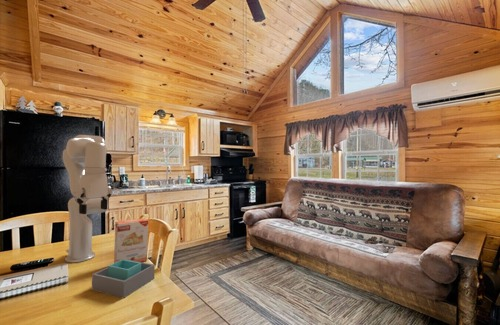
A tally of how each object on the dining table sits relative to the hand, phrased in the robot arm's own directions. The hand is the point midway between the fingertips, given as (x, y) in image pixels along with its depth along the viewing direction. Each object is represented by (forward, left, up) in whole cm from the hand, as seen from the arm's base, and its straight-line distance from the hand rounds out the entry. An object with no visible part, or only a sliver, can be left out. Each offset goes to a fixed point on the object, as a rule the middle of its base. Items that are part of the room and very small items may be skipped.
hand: (93, 211), depth 103 cm
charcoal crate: (+16, +1, -29) cm, 33 cm away
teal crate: (+16, +1, -28) cm, 32 cm away
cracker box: (+2, +18, -29) cm, 34 cm away
